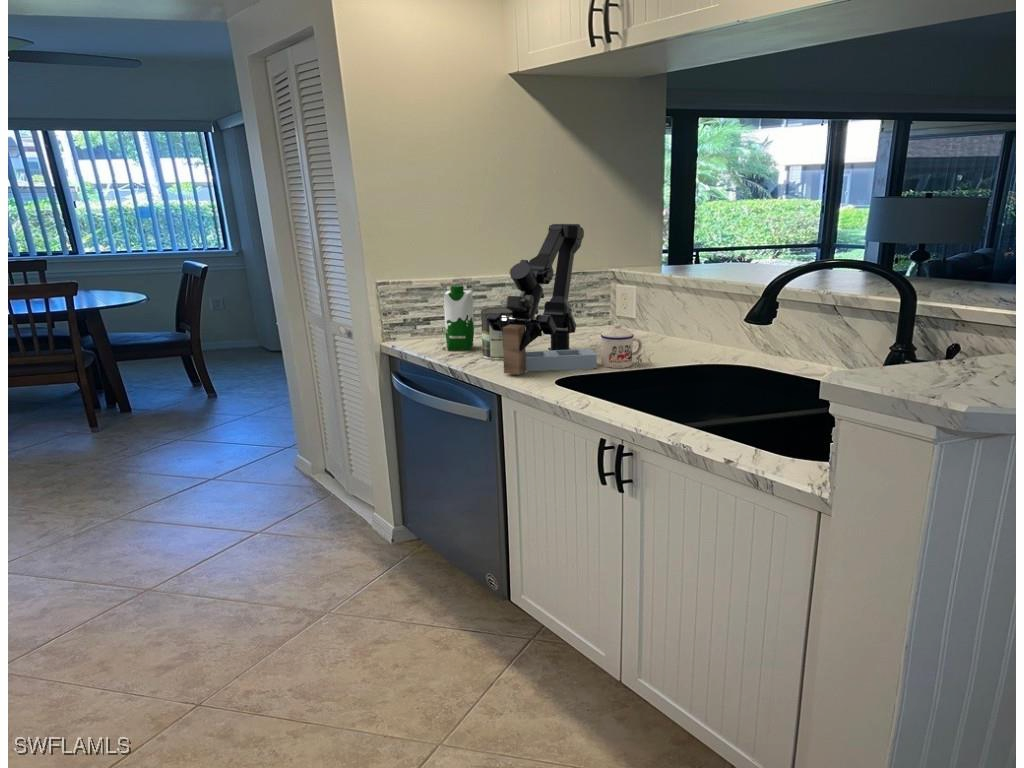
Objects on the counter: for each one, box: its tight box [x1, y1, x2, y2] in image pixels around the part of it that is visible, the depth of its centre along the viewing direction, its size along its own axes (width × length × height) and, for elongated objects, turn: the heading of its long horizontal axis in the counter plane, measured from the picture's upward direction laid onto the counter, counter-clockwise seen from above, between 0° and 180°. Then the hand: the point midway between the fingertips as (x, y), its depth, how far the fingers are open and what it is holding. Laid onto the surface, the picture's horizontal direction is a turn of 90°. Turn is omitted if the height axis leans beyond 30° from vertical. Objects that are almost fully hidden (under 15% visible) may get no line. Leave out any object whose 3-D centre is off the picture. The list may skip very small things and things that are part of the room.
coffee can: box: [480, 306, 512, 361], centre depth 228 cm, size 10×10×14 cm
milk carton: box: [443, 284, 475, 352], centre depth 240 cm, size 9×9×20 cm
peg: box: [503, 325, 527, 375], centre depth 205 cm, size 4×4×12 cm
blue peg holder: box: [526, 348, 598, 372], centre depth 214 cm, size 22×8×4 cm, turn 96°
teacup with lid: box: [600, 323, 643, 369], centre depth 215 cm, size 12×9×12 cm
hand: (512, 349), depth 204 cm, fingers closed on peg, 4 cm apart
